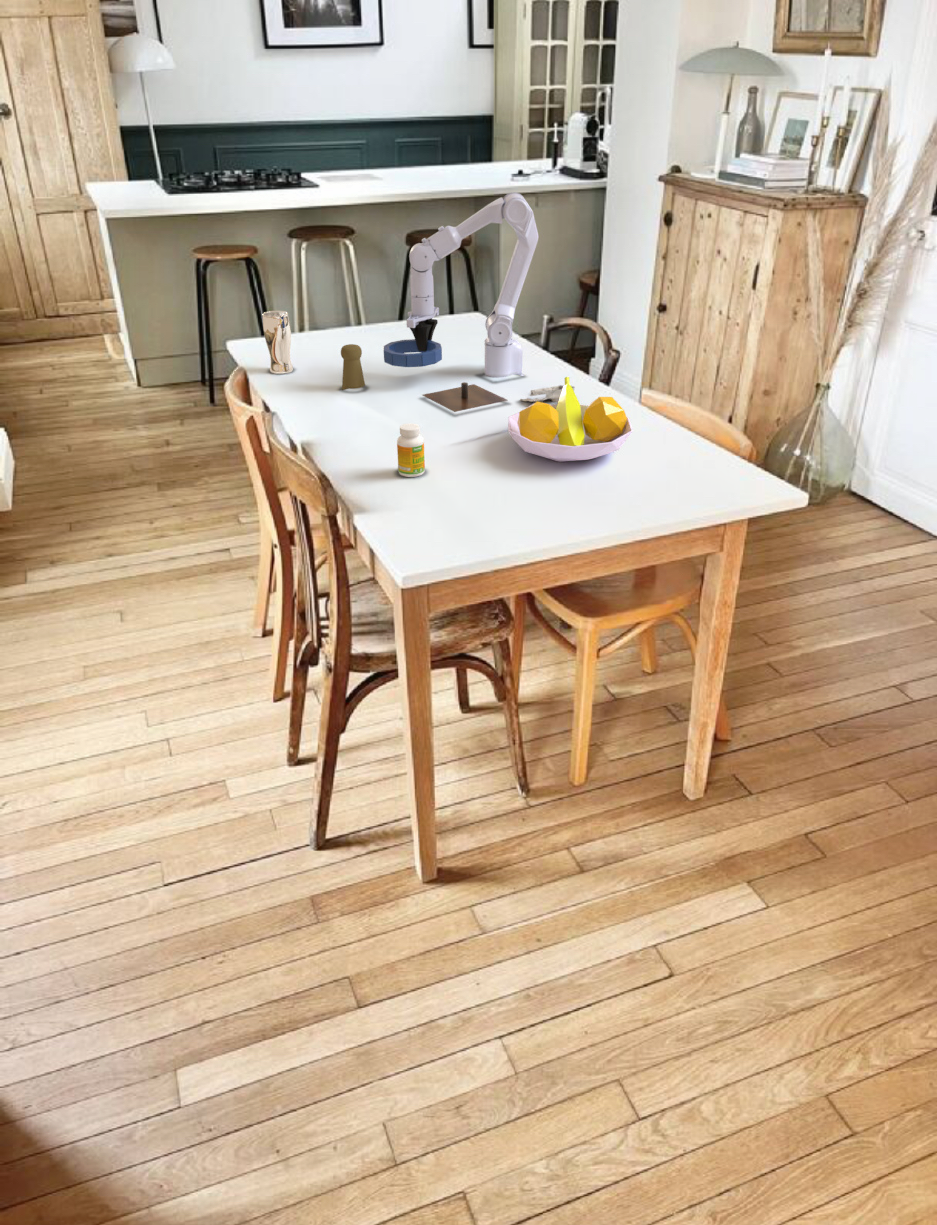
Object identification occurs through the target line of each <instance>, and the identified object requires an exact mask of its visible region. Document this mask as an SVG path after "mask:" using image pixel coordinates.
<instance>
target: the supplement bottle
mask: <svg viewBox="0 0 937 1225" xmlns="http://www.w3.org/2000/svg"><path fill="white" fill-rule="evenodd" d="M399 434H400V435H399V436H398V437H397V439H396V450H397V470H398V474H399V475H400V476H402V477H406V478H415V477H420V476H422V475H424V474H425V472H426V466H425V465H426V464H425V463H426V462H425V439H424V437H423V436H422V435H421V427H420V425H419V424H418V423H403V424H401V425H400V426H399Z"/></svg>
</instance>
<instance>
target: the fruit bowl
mask: <svg viewBox="0 0 937 1225" xmlns="http://www.w3.org/2000/svg"><path fill="white" fill-rule="evenodd" d="M563 386H564V387H563V389H562V392H561V395H560V398H559V401H558V402H557V403H554V404H550V403H546V402H538V401H537V402H535V401H534V402H533V403H532V404H530V405H529V406H526V407H525V408H524V409H522V410H520V411H517V412H516V413H514V414H512V415H510V416H508V417H507V418H508V419H507V431H508V433H509V435H510V437H511V438H512V440H513V441H514V442H515V443H516V444H517V446H519V447H520V448H521V449H522V450H523V451H524V452H525V453H529V454H531V455H536V456H538V457H541V458H545V459H549V460H552V461H555V462H559V463H562V462H574V461H586V460H592V459H596V458H600V457H603V456H606V455H608V454H611V453H614V452H617V451H620V449H621V448H622V446H623V445H624V444H625V443H626V441H627V440H628V438H629V437H630V436H631V435H632V433H634V430H633V426H632V423H631V419H630V417H628V416H627V415H626V412H625V410H624V408H623V407H622V406H621V405H620V403H618V402H617V401H616V400H615V398H614V397H613V396H598V397H597V398H595V399H594V400H593V401H592V402H591V403H590V404H589V405H588V404H587V405H586V404H581V403H580V401H579V399H578V397H577V395H576V393H575V390H574V391H573V389H572V387H573V385H571V382H570V376H565V377H564V385H563Z"/></svg>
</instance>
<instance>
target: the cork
mask: <svg viewBox="0 0 937 1225" xmlns="http://www.w3.org/2000/svg"><path fill="white" fill-rule="evenodd" d="M362 354H363V350H362V348H361V346H360V345H358V344H353V343H349V344H344V345H343V346H342V347H341V348H340V356H341V358H342V359H343V361H342V362H343V364H342V379H341V390H342V391H344V390H345V391H346V390H355V389H362V388H364V387H365V386H366V383H365V378H364V372H363V367H362V361H361V358H362Z"/></svg>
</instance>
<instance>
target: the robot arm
mask: <svg viewBox="0 0 937 1225" xmlns="http://www.w3.org/2000/svg"><path fill="white" fill-rule="evenodd" d="M503 219H504V220H503ZM504 221H506V223H507V224H508V225H509V226H510V227H511V228H512V229H513V230H514V233H515V235H516V236H517V239H516V243H515V246H514V249H513V252H512V255H511V259H510V263H509V265H508V268H507V270H506V274H505V277H504V280H503V283H502V286H501V289H500V293H499V296H498V297H497V301H496V303H495V305H494V307H493V310H492V312H491V313H490V314H489V315H488V316H487V317H486V320H485V323H484V324H485V325H484V326H485V329H486V331H487V334H486V335H487V337H486V338H485V339H484V375H485V376H486V377H491V378H507V377H510V376H513V375H516V374H517V375H519V376H522V377H524V376H525V374H523V348H522V344H521V343H520V342H519V341H518V340H517V339H513V338H512V337H513V322H514V318H515V313H516V307H517V305H518V301H519V298H520V295H521V292H522V290H523V286H524V284H525V280H526V278H527V274H528V272H529V269H530V267H531V263H532V260H533V258H534V254H535V250H536V248H537V246H538V242H539V237H540V236H539V231H538V227H537V224H536V218H535V214H534V211H533V209H532V208H531V206H530V205H529V203H528V201H527V200H526V199H525V197H524V196H523V195H522V194H521V193H519V192H516V191H512V192H508V193H507V194H505V195H504V196H503V197H502V196H501V197H499V198H496V199H495V200H494V201H492V202H490V203H487V204H486V205H485V206H483V207H482V208H480V210H478V211H476V212H475V213H473V214H472V215H471V216H469V217H468V218H467V219H465V220H464V221H462V222H461V223H459V224H458V225H456V226H451V225H446V226H445V227H444V225H441V226H439V227H438V229H437V230H438V231H437V232H435V233H434V234H432V235H430V236H429V237H428V238H426V237H424V238H422V239H421V243H420V242H418V243H415V244H413V246H412V247H411V249H410V251H409V255H408V258H409V263H410V268H409V270H410V276H409V277H410V278H409V280H410V282H409V283H410V305H411V306H410V307H411V310H410V311H408V312H407V316H408V318H407V319H406V328H409V330H410V332H411V333H412V335H413V338H414V339H415V341H416V344H417V348H418V351H424V352H425V351H426V350H427V344H428V340H431V341H433V336H434V333H435V330H436V327H437V325H438V323H439V322H438V319H435V317H437V316H439V315H440V308H439V307H438V306H435V295H434V294H435V291H434V290H435V288H434V287H435V286H434V284H435V283H434V275H433V265H434V262H439V261H441V260H442V259H443V258H445V257H447V256H449V255H450V254H451V253H453V252H455V251H456V250H458V249H459V248H461V245H462V241H463V240H464V239H465V238H467V237H468V236H470V235H472V234H474V233H475V232H477V231H479V230H482V229H483V228H484V227H486V226H488V225H489V224H501V225H503V224H504Z"/></svg>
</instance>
